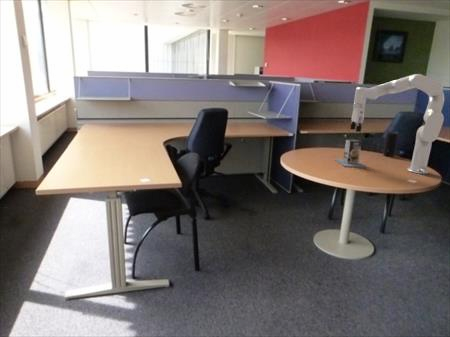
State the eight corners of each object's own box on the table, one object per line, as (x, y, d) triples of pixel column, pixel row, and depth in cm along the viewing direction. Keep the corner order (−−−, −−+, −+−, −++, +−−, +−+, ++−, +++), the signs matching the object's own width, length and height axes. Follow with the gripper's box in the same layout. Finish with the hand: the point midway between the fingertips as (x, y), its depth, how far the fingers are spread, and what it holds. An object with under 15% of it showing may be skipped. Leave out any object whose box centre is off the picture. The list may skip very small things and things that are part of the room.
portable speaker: (389, 157, 276) (394, 133, 270) (379, 154, 283) (384, 131, 278) (396, 156, 279) (401, 132, 274) (386, 154, 287) (391, 130, 282)
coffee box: (347, 163, 245) (351, 141, 240) (342, 161, 251) (345, 139, 246) (358, 163, 247) (362, 141, 243) (353, 161, 253) (356, 139, 249)
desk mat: (366, 167, 240) (367, 166, 240) (344, 166, 239) (344, 165, 239) (355, 160, 259) (355, 159, 259) (334, 159, 259) (334, 158, 258)
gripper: (370, 107, 230) (365, 132, 235) (359, 104, 247) (355, 128, 251) (359, 106, 230) (355, 132, 234) (349, 104, 246) (345, 128, 251)
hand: (355, 130), depth 243 cm, fingers open, 9 cm apart
